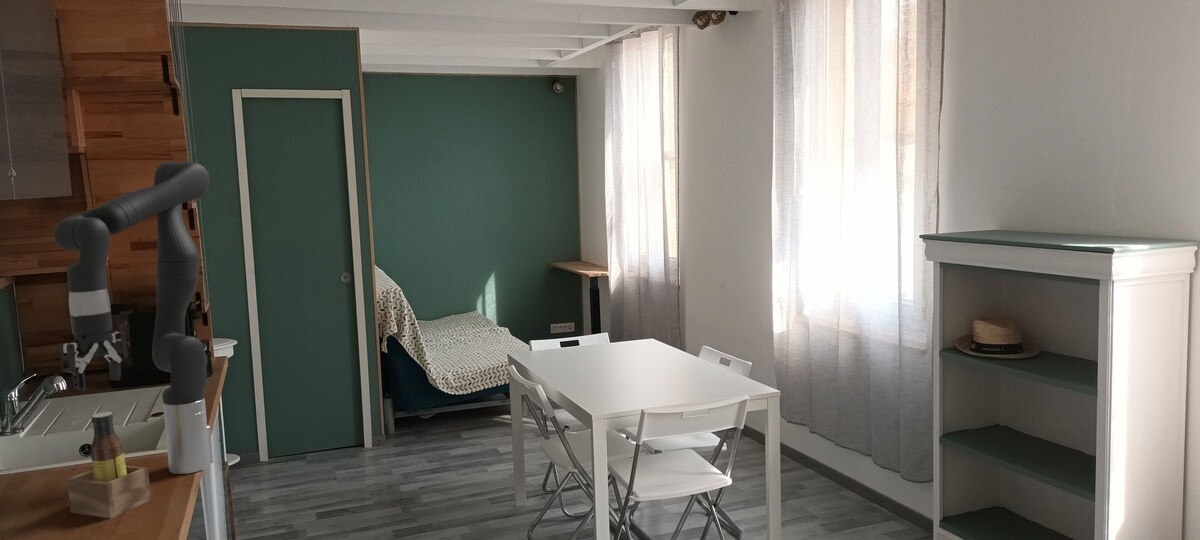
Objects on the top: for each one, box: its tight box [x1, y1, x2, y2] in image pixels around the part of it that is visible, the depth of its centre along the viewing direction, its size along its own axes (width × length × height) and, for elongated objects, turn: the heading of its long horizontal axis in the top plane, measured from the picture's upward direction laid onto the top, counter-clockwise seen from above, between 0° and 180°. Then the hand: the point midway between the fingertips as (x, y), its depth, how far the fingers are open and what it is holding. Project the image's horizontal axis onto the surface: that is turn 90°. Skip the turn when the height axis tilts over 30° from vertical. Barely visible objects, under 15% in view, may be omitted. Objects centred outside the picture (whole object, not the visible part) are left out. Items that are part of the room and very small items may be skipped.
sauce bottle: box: [90, 411, 127, 482], centre depth 191 cm, size 7×6×20 cm
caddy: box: [66, 464, 152, 519], centre depth 191 cm, size 10×12×8 cm
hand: (98, 384), depth 188 cm, fingers open, 8 cm apart
